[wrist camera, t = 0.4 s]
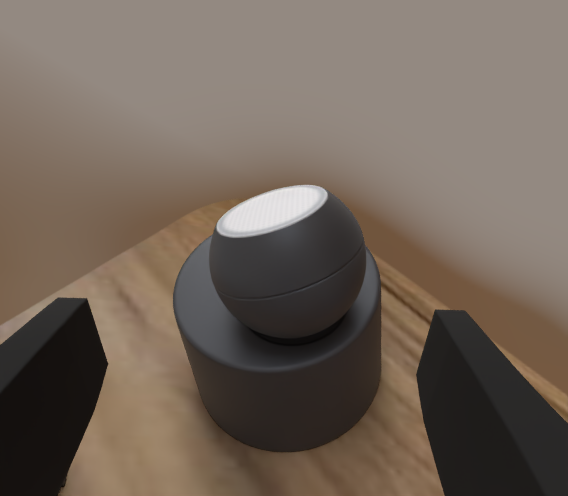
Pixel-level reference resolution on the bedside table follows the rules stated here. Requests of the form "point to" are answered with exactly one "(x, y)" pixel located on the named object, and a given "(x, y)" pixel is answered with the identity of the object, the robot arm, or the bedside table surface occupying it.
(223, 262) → the light fixture
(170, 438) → the bedside table surface
